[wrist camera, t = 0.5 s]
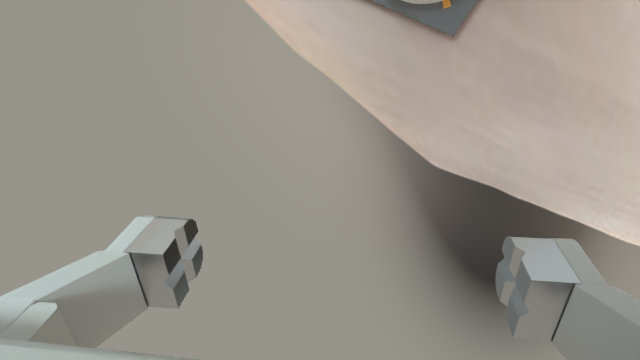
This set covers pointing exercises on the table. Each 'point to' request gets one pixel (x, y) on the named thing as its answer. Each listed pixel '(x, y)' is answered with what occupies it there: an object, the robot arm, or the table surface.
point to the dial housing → (434, 12)
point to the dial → (422, 1)
